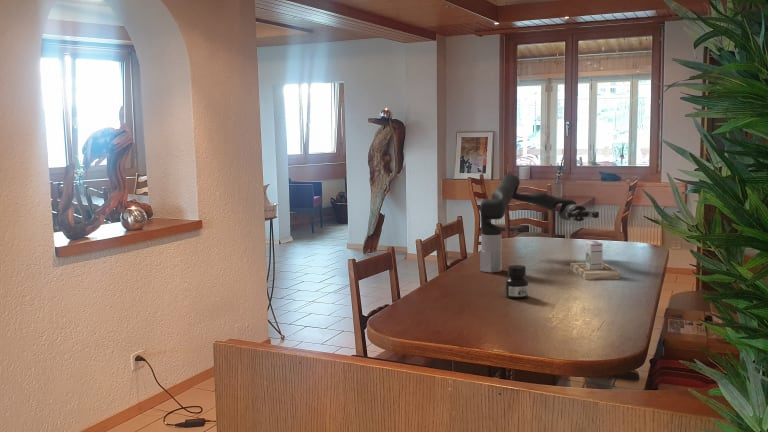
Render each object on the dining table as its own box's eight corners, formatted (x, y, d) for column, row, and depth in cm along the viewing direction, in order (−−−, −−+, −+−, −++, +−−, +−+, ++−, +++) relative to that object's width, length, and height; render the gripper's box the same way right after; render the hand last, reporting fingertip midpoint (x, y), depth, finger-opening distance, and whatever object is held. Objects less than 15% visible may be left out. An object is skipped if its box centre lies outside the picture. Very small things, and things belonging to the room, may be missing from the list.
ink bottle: (510, 300, 270) (510, 269, 268) (500, 295, 278) (500, 265, 277) (533, 298, 273) (533, 267, 271) (522, 293, 281) (522, 263, 279)
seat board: (619, 278, 303) (619, 271, 303) (584, 279, 303) (584, 272, 302) (602, 268, 325) (603, 261, 324) (570, 269, 325) (570, 262, 324)
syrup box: (602, 275, 311) (603, 242, 310) (590, 275, 311) (590, 243, 309) (597, 272, 317) (598, 240, 315) (585, 273, 316) (585, 241, 315)
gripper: (591, 220, 339) (602, 223, 323) (561, 220, 339) (571, 224, 322) (591, 204, 338) (602, 207, 322) (562, 205, 338) (571, 208, 322)
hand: (586, 216), depth 322 cm, fingers open, 8 cm apart
